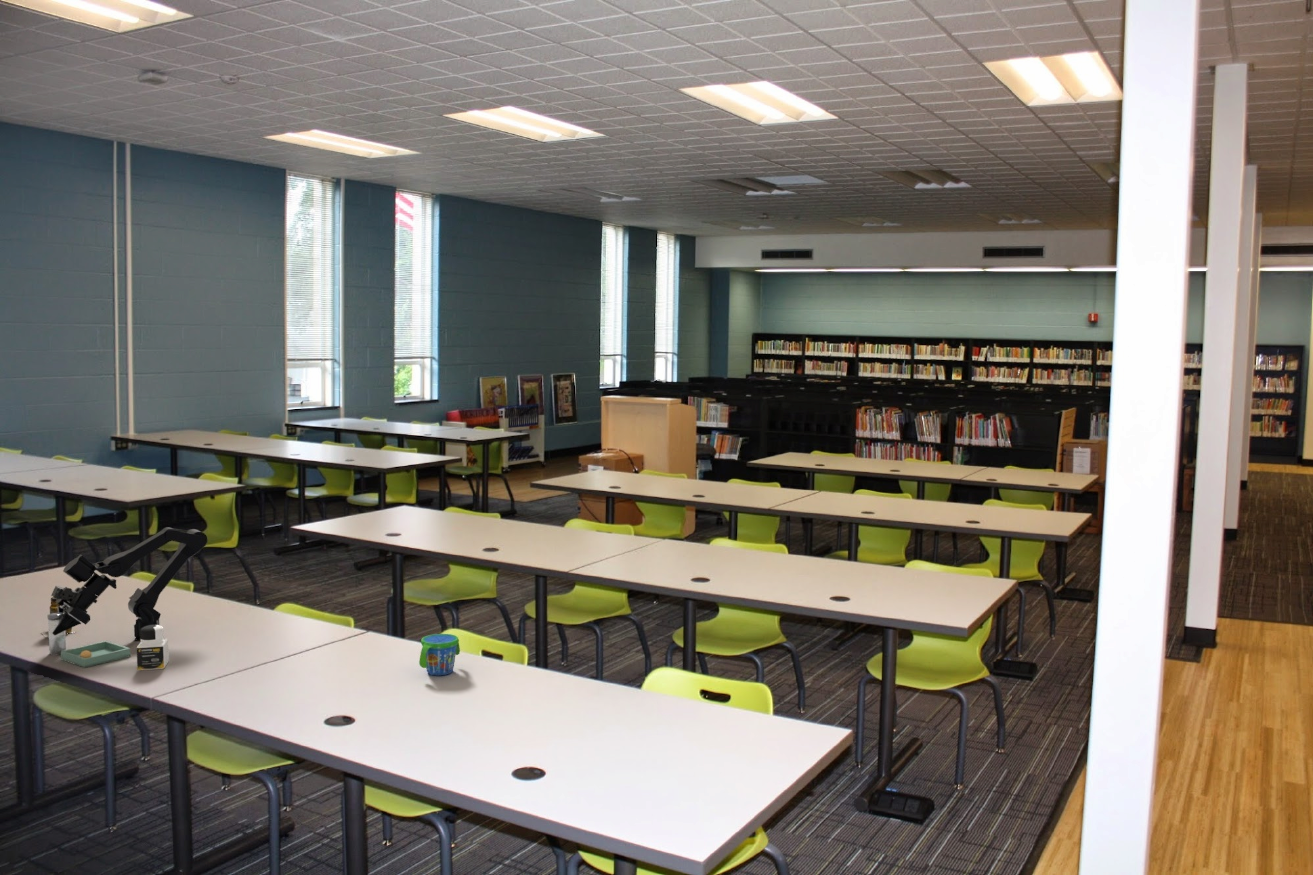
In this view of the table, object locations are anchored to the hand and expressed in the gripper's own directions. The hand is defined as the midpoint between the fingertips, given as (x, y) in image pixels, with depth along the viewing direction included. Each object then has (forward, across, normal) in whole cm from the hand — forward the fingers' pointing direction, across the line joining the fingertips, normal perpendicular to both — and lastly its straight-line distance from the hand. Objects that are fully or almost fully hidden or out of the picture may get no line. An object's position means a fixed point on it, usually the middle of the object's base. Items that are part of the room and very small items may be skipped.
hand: (51, 632), depth 309 cm
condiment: (0, -24, +9) cm, 26 cm away
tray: (-2, +13, +11) cm, 17 cm away
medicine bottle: (-9, +32, +19) cm, 38 cm away
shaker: (+4, 0, +6) cm, 7 cm away
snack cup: (-52, +91, +62) cm, 122 cm away
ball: (-1, +16, +7) cm, 17 cm away
